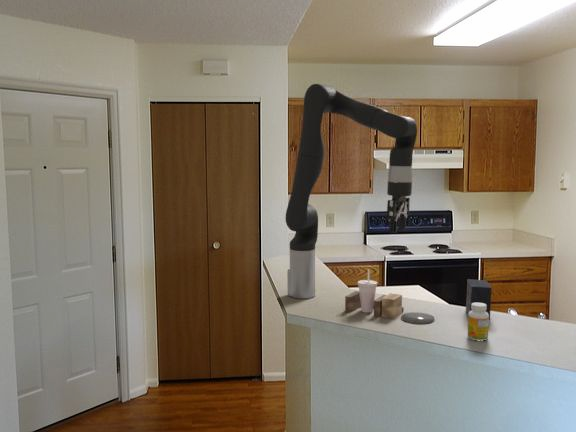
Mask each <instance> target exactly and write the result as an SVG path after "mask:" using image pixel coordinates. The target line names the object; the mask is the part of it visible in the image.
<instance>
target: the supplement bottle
mask: <svg viewBox="0 0 576 432" xmlns="http://www.w3.org/2000/svg"><path fill="white" fill-rule="evenodd" d="M471 309H472V310H471V311H470V312H469V313H468V314H467V318H468V319H467V338H468V339H469V338H470V339H469V340H471V339H472V341H474V340H486V339H487V340H489V323H490V322H489V321H490V320H489V314H488V313H487V312H486V309H487V305H486V304H484V303H478V302H476V303H472V304H471ZM487 340H486V341H487Z"/></svg>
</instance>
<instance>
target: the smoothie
mask: <svg viewBox="0 0 576 432" xmlns="http://www.w3.org/2000/svg"><path fill="white" fill-rule="evenodd" d="M357 287H358V291H359V293H360V302H361V307H360V308H361V309H360V310H361V312H362V313H368V314H369V313H374V308H373V307H374V300H376V299H375V298H376V291H377V287H378V281H376V280H372V279H370V269H369V268H367V279H361V280H358V281H357Z"/></svg>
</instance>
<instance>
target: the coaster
mask: <svg viewBox="0 0 576 432" xmlns="http://www.w3.org/2000/svg"><path fill="white" fill-rule="evenodd" d="M401 320H402V321H404V322H406V323H408V324H409V323H410V324H414V325H415V324H417V325H427V324H431V323H433V322H435V316H433V315H432V314H430V313H429V314H428V313H424V312H416V311H415V312H405V313H403V314H401Z"/></svg>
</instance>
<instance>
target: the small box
mask: <svg viewBox="0 0 576 432" xmlns="http://www.w3.org/2000/svg"><path fill="white" fill-rule="evenodd" d="M465 301H466V302H465V303H466V304H465V311H466V313H467V315H468V313H469V312H470V311H471V310H472V309H471V304H472V303H476V302H478V303H484V304H486V305H487V309H486V312H487V313H488V314H489V321H490V320H491V306H492V286H491V285H490V284H489V282H488V281H487V280H485V279H484V280H483V279H470V278H468V279H466V300H465Z"/></svg>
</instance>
